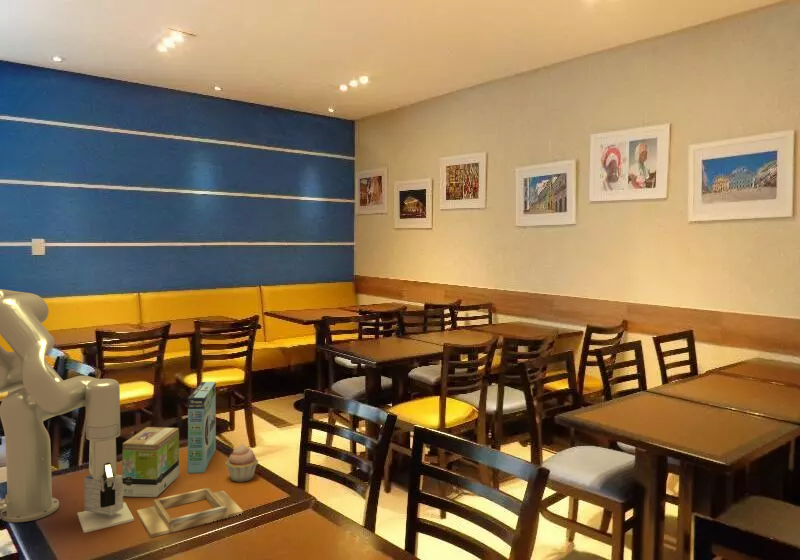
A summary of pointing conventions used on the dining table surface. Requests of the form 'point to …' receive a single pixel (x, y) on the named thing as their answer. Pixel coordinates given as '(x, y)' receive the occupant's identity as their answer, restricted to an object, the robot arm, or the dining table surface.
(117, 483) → the medicine box
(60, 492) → the dining table surface
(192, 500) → the beige rectangular frame piece
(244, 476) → the cupcake
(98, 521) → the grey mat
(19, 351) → the robot arm
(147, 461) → the tea box
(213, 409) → the gum box
